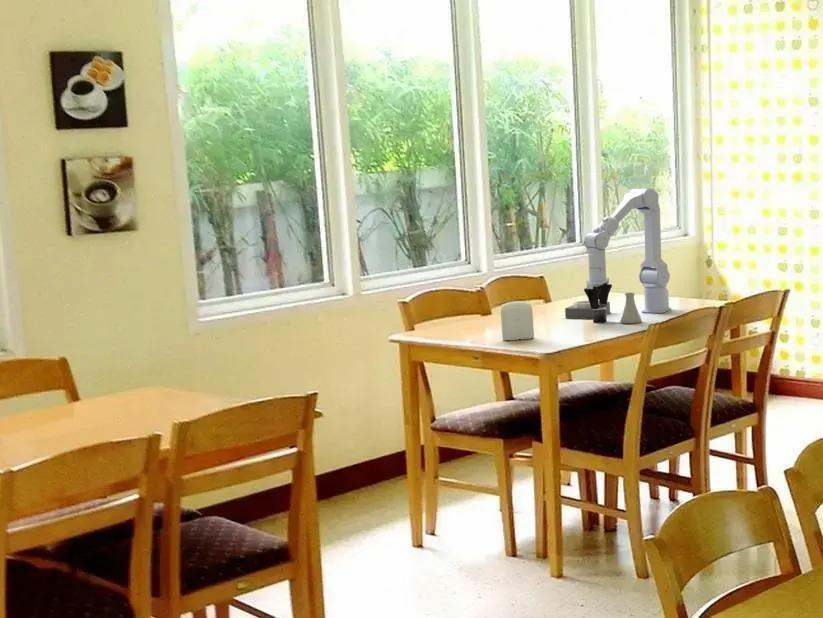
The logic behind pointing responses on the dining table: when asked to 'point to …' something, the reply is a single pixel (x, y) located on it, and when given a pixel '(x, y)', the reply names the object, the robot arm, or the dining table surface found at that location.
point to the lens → (599, 314)
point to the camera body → (582, 310)
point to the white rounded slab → (517, 321)
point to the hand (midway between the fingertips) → (598, 307)
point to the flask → (630, 310)
